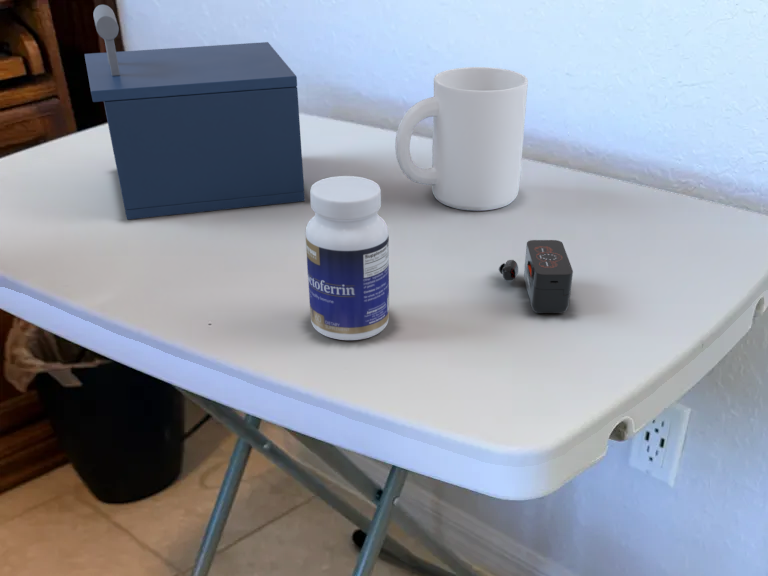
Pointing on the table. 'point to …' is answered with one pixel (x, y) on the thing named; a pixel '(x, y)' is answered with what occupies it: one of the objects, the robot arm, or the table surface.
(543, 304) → the wireless earbuds
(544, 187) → the table surface
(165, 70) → the lid
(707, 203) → the table surface
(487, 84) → the mug
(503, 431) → the table surface
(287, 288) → the table surface
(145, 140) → the dark blue open box
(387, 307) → the pill bottle
